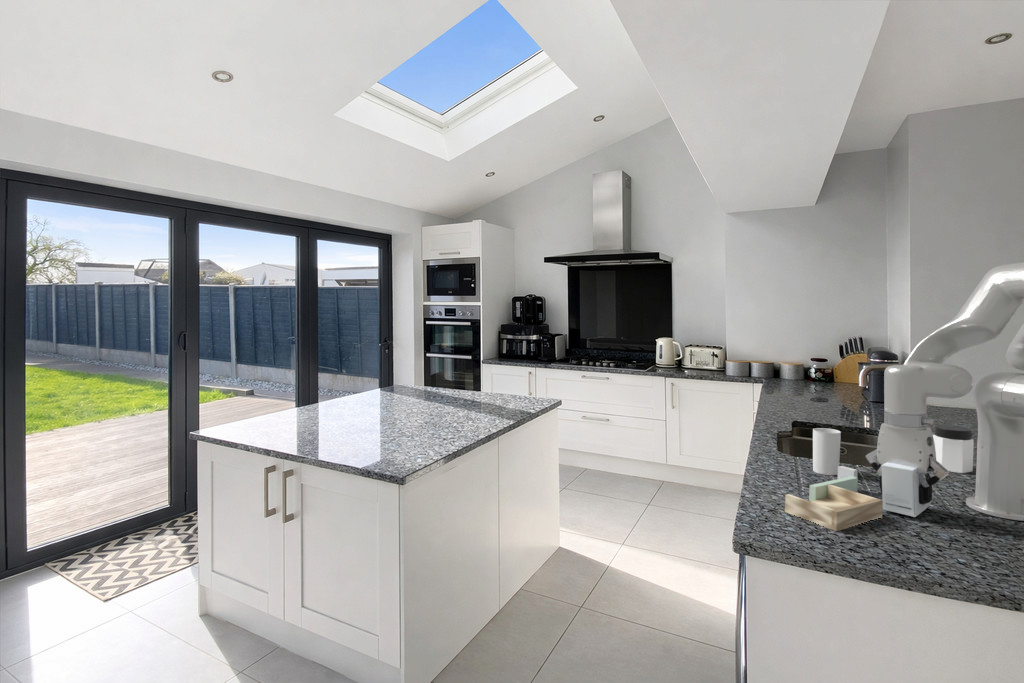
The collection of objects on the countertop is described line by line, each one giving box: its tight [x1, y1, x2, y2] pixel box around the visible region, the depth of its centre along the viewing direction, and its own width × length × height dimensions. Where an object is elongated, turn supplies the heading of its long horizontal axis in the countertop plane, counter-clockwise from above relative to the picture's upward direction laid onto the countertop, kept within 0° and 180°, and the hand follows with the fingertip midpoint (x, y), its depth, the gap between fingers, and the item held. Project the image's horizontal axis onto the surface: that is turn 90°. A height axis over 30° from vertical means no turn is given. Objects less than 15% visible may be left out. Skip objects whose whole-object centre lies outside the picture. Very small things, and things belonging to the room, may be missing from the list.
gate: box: [808, 465, 859, 501], centre depth 125 cm, size 5×18×5 cm, turn 115°
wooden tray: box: [784, 485, 883, 532], centre depth 112 cm, size 12×16×4 cm
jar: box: [933, 424, 975, 474], centre depth 146 cm, size 9×8×12 cm
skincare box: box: [881, 462, 932, 518], centre depth 115 cm, size 10×6×10 cm, turn 126°
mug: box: [812, 427, 842, 476], centre depth 144 cm, size 10×7×12 cm, turn 120°
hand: (904, 497), depth 114 cm, fingers closed on skincare box, 7 cm apart
